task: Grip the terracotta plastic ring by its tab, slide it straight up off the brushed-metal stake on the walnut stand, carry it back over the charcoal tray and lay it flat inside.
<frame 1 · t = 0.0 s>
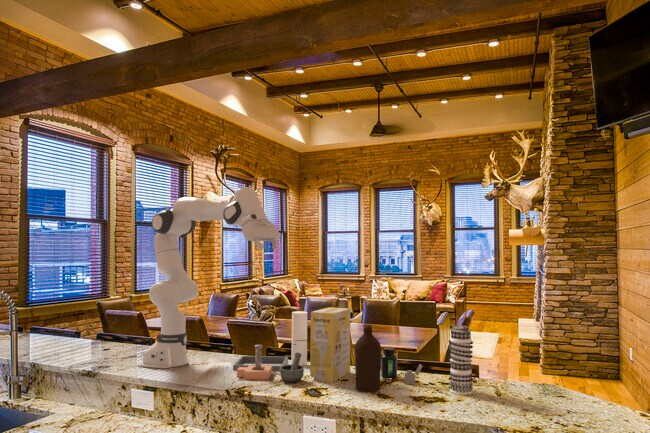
hand: (268, 249, 197), 54 cm above the counter, tool tilted 30°, fingers open, 8 cm apart
olive oil: (367, 389, 185), on the counter
lighter: (413, 384, 192), on the counter
tray: (261, 368, 215), on the counter
ring: (258, 376, 197), point 1 cm above the counter, touching stake stand
grey banded cylinder: (461, 392, 182), on the counter
supplement bottle: (389, 377, 202), on the counter
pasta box: (330, 376, 203), on the counter
cylindrical container: (299, 367, 218), on the counter
mortar and pestle: (292, 385, 190), on the counter
stake stand: (258, 379, 197), on the counter
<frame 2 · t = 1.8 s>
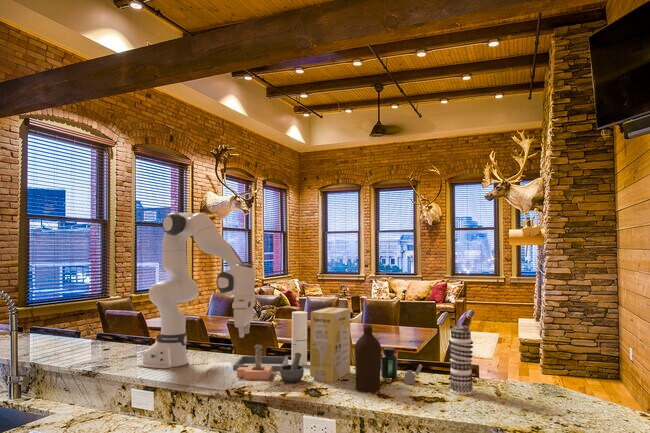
hand: (244, 335, 198), 18 cm above the counter, tool pointing down, fingers open, 8 cm apart
nothing on the counter moved.
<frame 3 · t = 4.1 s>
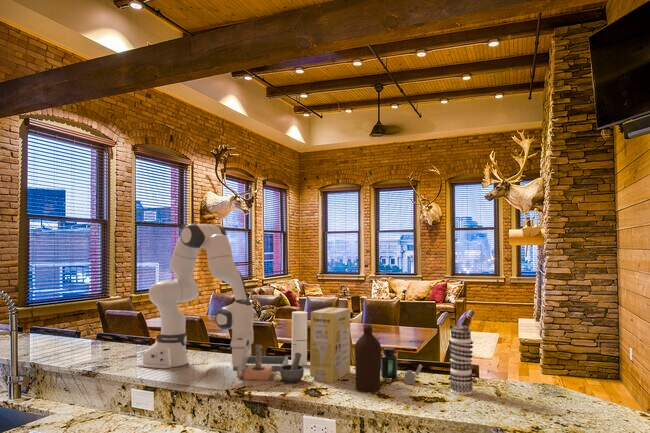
hand: (242, 372, 197), 3 cm above the counter, tool pointing down, fingers closed on ring, 4 cm apart
ring: (258, 376, 197), point 2 cm above the counter, touching gripper, stake stand
everything else where it was.
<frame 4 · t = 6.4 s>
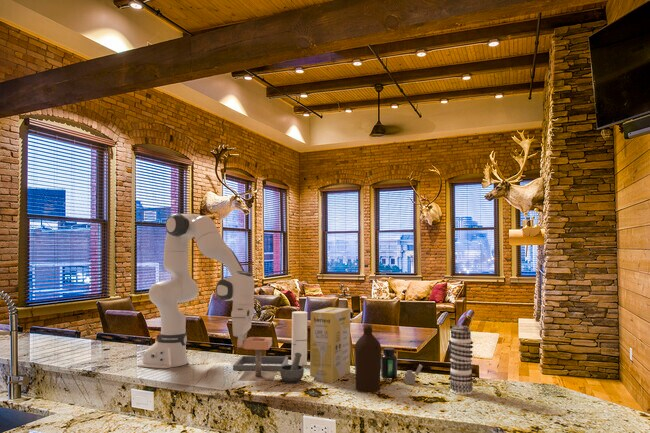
hand: (242, 343, 198), 15 cm above the counter, tool pointing down, fingers closed on ring, 4 cm apart
ring: (258, 346, 198), point 13 cm above the counter, touching gripper
everything else where it was.
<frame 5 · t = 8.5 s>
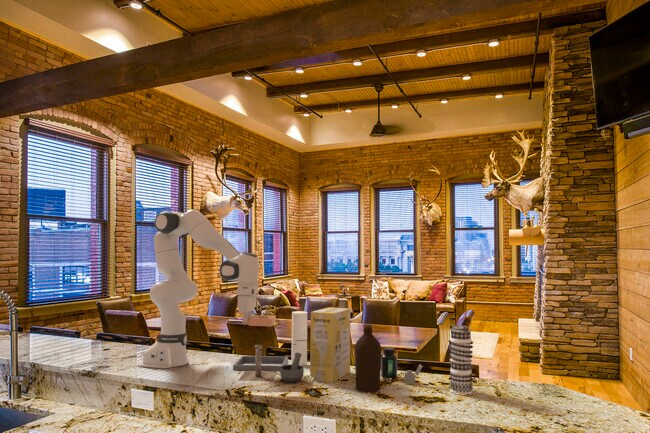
hand: (247, 320, 208), 23 cm above the counter, tool pointing down, fingers closed on ring, 4 cm apart
ring: (262, 324, 208), point 21 cm above the counter, touching gripper
everything else where it was.
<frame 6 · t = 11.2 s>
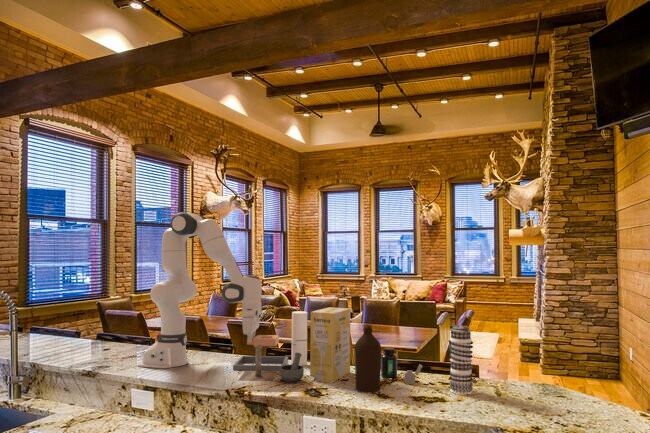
hand: (251, 341, 216), 12 cm above the counter, tool pointing down, fingers closed on ring, 4 cm apart
ring: (266, 343, 215), point 11 cm above the counter, touching gripper
everything else where it was.
when the fingers open (3 cm above the counter, at t = 13.2 s): ring drops 1 cm, resting on tray.
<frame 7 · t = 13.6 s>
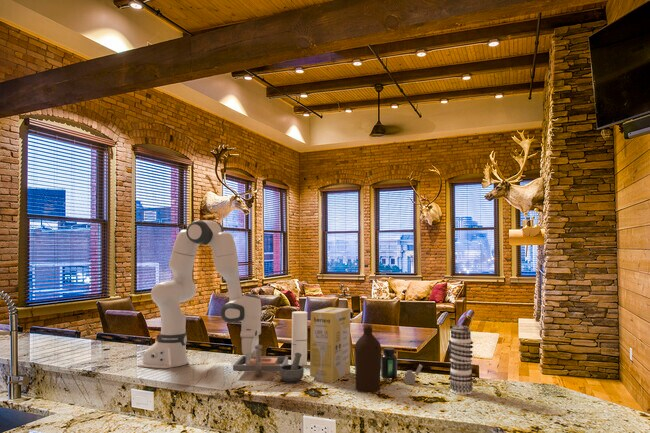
hand: (250, 360, 215), 3 cm above the counter, tool pointing down, fingers open, 8 cm apart
ring: (265, 366, 215), point 1 cm above the counter, touching tray
everything else where it was.
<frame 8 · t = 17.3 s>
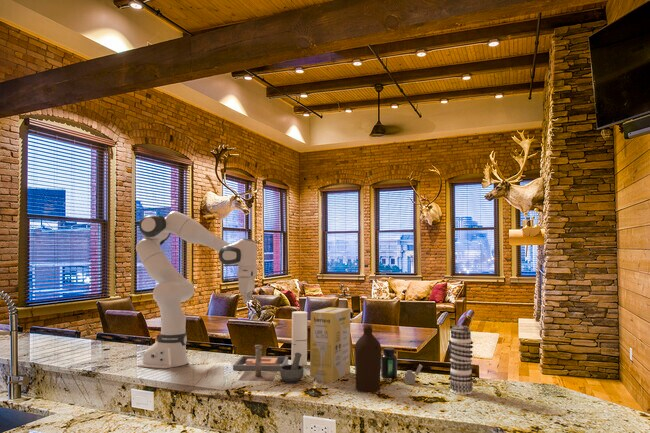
hand: (247, 301, 227), 29 cm above the counter, tool pointing down, fingers open, 8 cm apart
nothing on the counter moved.
at the end: ring inside the target area on the tray (0.7 cm from its centre), point 0.8 cm above the tray's base; ring tilted 0°; the gripper is holding nothing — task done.
